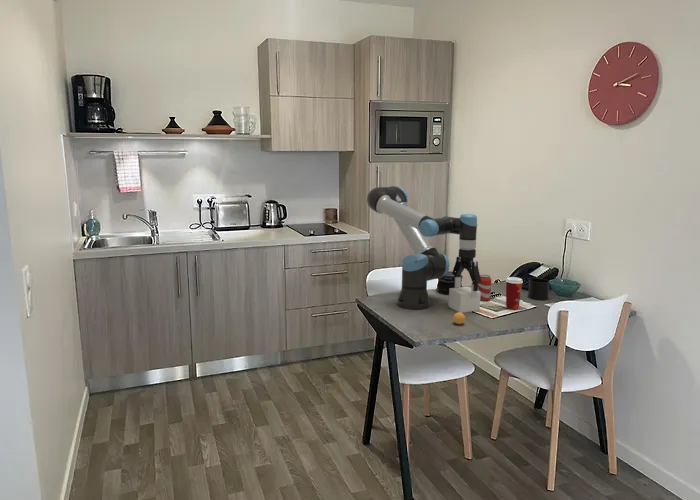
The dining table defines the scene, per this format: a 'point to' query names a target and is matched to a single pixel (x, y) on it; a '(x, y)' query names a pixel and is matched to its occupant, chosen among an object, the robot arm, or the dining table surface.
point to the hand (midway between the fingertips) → (465, 294)
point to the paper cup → (513, 292)
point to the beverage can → (485, 287)
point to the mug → (538, 289)
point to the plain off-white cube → (463, 300)
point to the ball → (459, 318)
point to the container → (447, 283)
